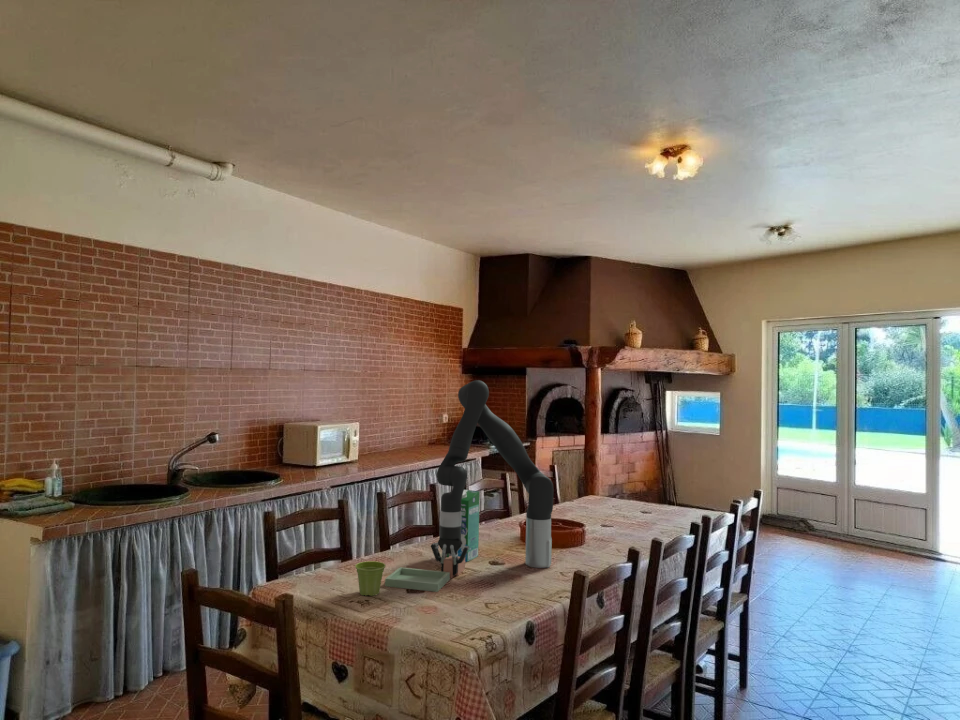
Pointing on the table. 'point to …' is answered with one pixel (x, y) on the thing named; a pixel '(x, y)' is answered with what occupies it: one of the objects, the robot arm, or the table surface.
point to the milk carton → (469, 523)
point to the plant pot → (370, 577)
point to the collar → (449, 566)
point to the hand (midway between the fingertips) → (449, 574)
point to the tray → (417, 579)
